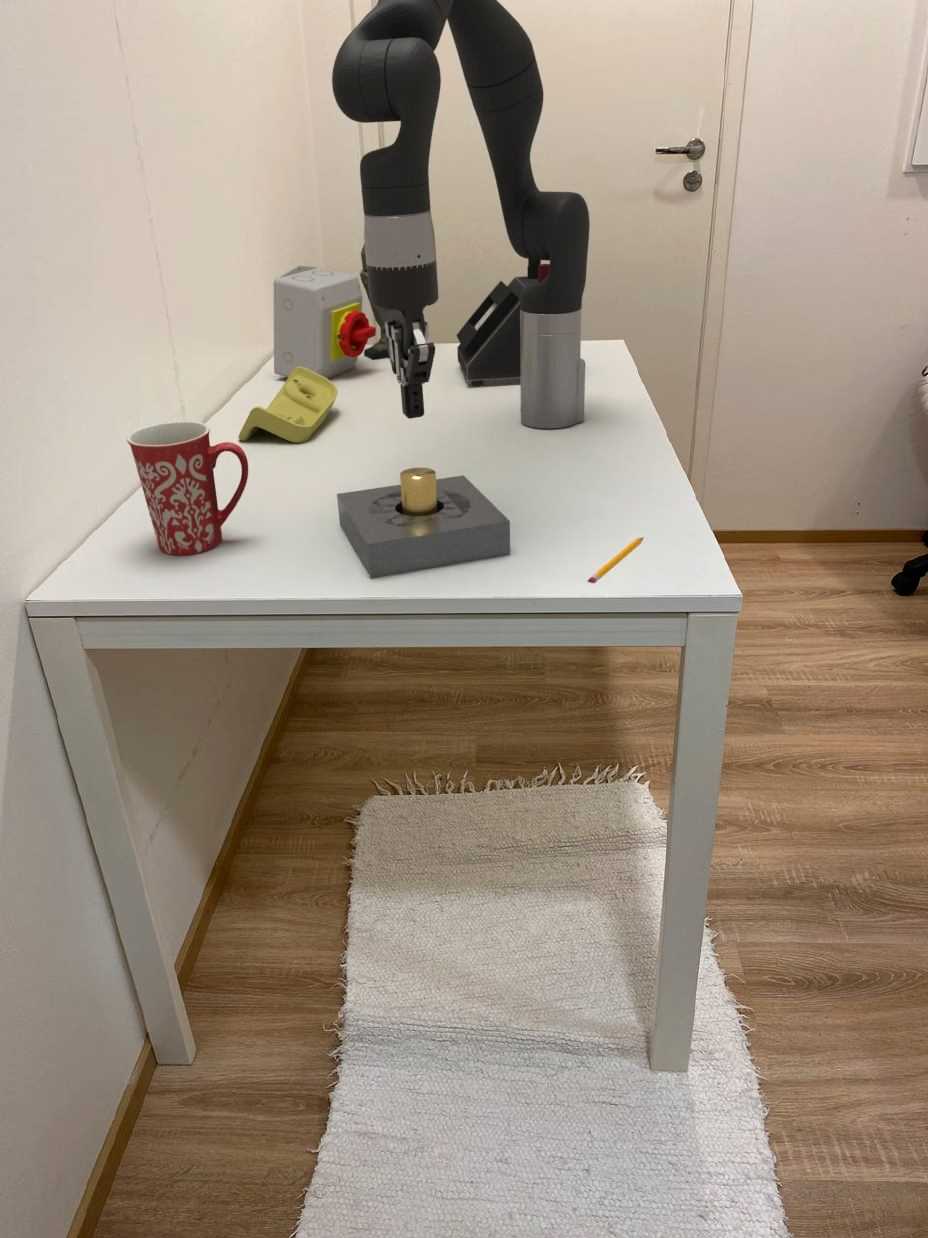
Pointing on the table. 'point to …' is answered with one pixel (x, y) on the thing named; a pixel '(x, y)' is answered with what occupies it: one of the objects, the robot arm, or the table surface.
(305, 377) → the plastic component
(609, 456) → the table surface
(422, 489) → the brass peg
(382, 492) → the jig
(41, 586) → the table surface
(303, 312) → the electrical switch box
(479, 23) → the robot arm
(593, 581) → the pencil
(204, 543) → the mug
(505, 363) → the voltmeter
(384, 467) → the table surface
